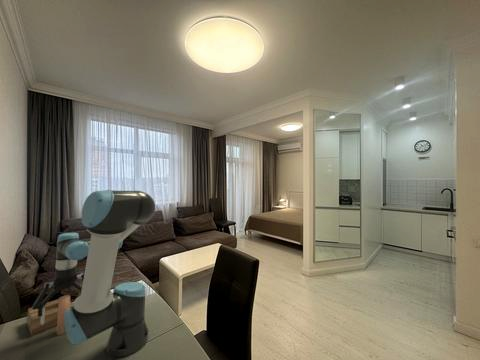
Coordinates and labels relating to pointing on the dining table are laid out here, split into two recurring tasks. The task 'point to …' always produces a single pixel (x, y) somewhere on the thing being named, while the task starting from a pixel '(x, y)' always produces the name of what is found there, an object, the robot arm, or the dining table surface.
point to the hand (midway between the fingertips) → (63, 315)
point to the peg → (62, 313)
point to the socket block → (49, 319)
